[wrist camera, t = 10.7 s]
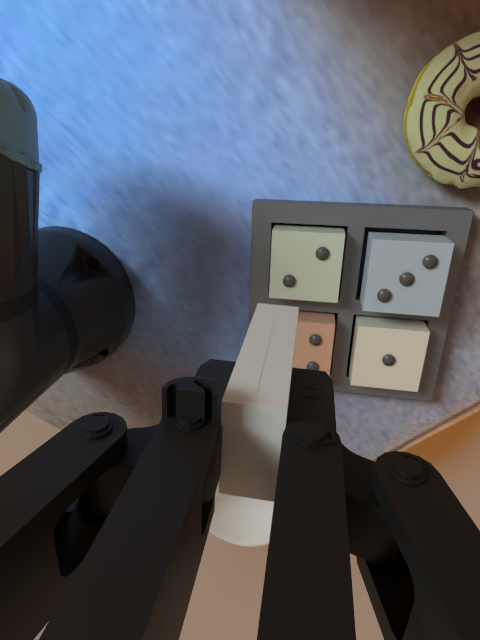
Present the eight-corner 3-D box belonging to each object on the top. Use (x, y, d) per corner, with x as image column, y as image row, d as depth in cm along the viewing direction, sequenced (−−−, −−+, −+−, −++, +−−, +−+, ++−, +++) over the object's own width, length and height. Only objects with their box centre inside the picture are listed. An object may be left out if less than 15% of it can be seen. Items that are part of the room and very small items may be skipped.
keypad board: (250, 372, 46) (247, 381, 44) (255, 198, 39) (252, 201, 37) (427, 390, 43) (431, 401, 42) (466, 207, 37) (473, 210, 35)
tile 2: (272, 287, 41) (268, 298, 38) (275, 224, 39) (271, 230, 36) (336, 292, 40) (337, 303, 37) (343, 227, 38) (345, 234, 35)
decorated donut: (508, 198, 36) (528, 205, 33) (381, 168, 37) (387, 171, 33) (574, 56, 32) (605, 46, 28) (430, 25, 32) (442, 12, 29)
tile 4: (268, 362, 44) (264, 378, 41) (271, 307, 42) (267, 320, 39) (328, 368, 43) (328, 384, 40) (334, 312, 41) (335, 325, 38)
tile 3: (359, 299, 39) (362, 311, 36) (368, 231, 36) (372, 239, 33) (430, 304, 38) (439, 317, 35) (444, 235, 35) (455, 243, 32)
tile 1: (348, 369, 43) (350, 386, 40) (355, 313, 41) (358, 326, 38) (411, 375, 42) (418, 393, 39) (422, 319, 40) (430, 332, 37)
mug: (268, 380, 46) (255, 457, 35) (311, 440, 48) (311, 529, 38) (184, 423, 50) (149, 503, 39) (227, 476, 52) (205, 566, 42)
